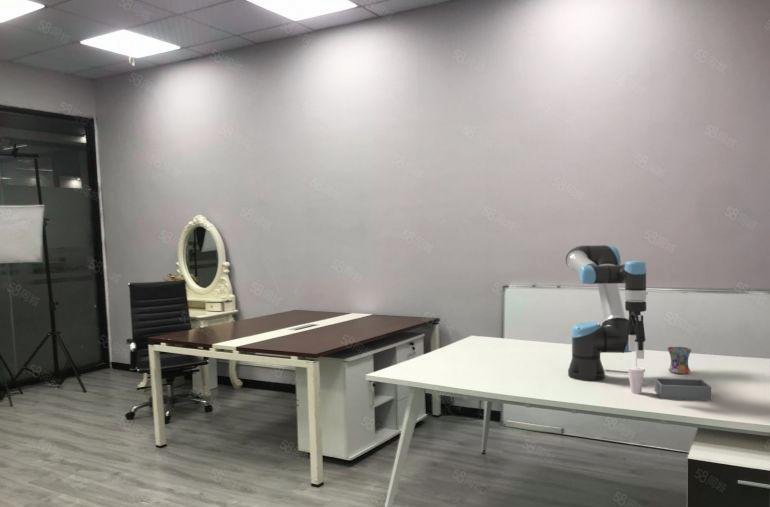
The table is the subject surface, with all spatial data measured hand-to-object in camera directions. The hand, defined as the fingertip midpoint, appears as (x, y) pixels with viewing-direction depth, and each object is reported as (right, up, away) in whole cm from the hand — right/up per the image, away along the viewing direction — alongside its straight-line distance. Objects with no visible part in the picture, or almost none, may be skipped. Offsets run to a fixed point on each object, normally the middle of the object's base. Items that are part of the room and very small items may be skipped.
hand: (636, 354), depth 217 cm
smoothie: (0, -15, +1) cm, 15 cm away
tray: (+16, -15, -4) cm, 22 cm away
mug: (+33, -13, +29) cm, 46 cm away
